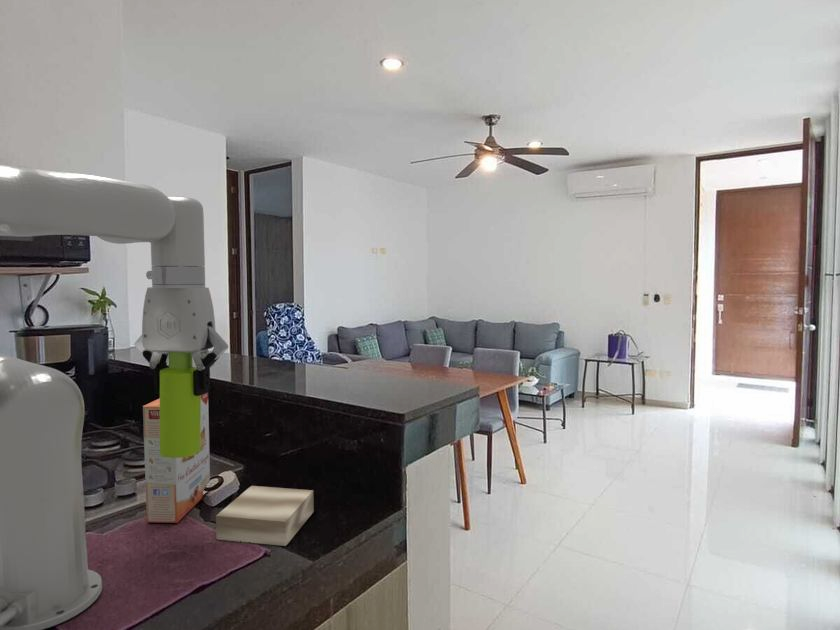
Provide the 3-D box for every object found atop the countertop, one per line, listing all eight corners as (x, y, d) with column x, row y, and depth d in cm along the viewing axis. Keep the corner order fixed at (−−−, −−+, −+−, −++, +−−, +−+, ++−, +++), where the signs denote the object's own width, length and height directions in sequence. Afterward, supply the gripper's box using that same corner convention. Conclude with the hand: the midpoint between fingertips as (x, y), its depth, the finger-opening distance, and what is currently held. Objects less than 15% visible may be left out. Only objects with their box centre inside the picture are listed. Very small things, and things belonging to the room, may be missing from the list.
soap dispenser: (210, 453, 83) (211, 327, 82) (162, 460, 80) (161, 328, 78) (203, 442, 88) (204, 323, 87) (157, 448, 85) (157, 324, 83)
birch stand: (285, 545, 84) (285, 521, 84) (216, 539, 86) (215, 515, 86) (313, 511, 96) (313, 490, 95) (252, 506, 98) (251, 485, 98)
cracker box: (180, 524, 91) (174, 405, 89) (145, 524, 91) (139, 405, 89) (213, 490, 105) (209, 386, 103) (183, 490, 105) (178, 386, 103)
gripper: (111, 278, 80) (116, 395, 81) (216, 279, 77) (219, 401, 78) (145, 277, 87) (149, 385, 88) (242, 278, 84) (244, 390, 86)
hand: (182, 391), depth 83 cm, fingers closed on soap dispenser, 6 cm apart
